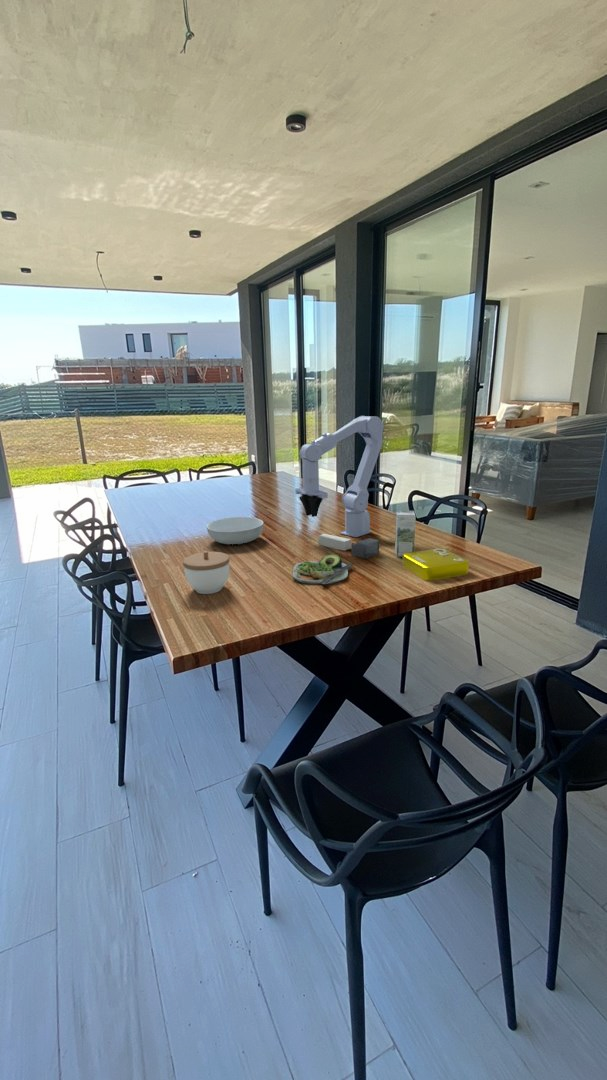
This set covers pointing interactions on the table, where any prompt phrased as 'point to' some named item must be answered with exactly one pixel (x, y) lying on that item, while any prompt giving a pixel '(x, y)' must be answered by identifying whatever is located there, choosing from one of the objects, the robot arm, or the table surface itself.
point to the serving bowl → (235, 530)
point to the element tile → (435, 564)
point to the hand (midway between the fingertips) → (311, 515)
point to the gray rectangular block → (334, 542)
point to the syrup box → (404, 532)
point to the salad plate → (322, 570)
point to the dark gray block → (365, 548)
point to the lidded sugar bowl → (207, 571)
